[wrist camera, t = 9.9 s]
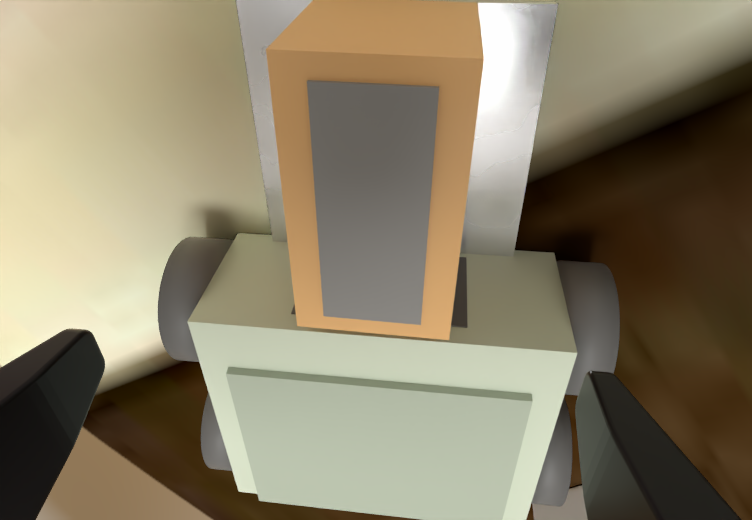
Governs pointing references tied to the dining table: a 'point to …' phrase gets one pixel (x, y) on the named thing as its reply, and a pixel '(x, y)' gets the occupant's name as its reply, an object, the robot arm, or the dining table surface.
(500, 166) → the mounting plate
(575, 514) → the milk
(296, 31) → the block
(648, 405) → the dining table surface
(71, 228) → the dining table surface
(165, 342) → the mower deck
